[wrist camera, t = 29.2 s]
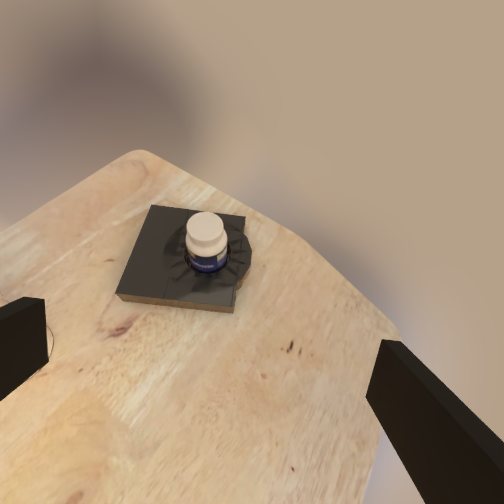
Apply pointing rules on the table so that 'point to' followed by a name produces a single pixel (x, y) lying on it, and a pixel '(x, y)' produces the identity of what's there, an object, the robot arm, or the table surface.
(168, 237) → the bottle holder base
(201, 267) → the pill bottle
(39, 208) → the table surface
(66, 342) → the table surface
